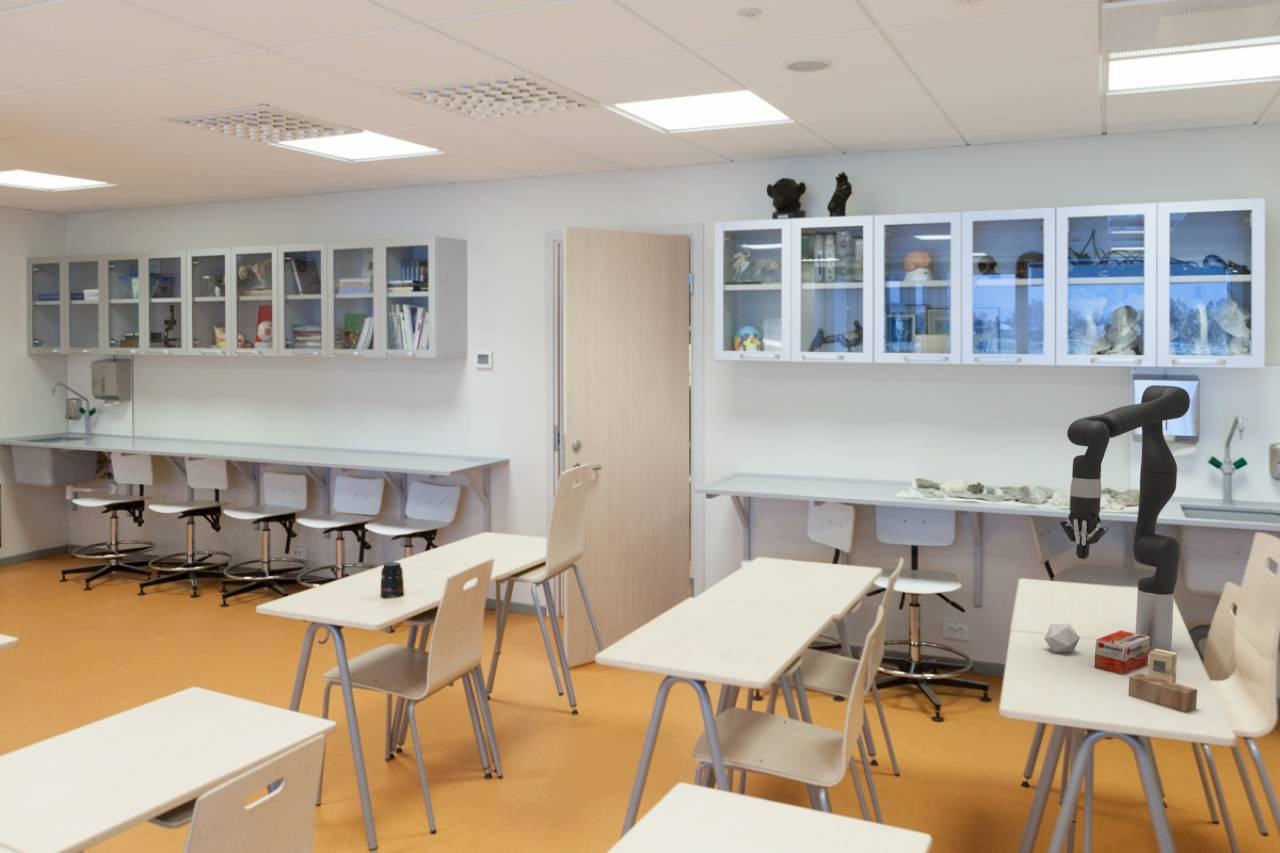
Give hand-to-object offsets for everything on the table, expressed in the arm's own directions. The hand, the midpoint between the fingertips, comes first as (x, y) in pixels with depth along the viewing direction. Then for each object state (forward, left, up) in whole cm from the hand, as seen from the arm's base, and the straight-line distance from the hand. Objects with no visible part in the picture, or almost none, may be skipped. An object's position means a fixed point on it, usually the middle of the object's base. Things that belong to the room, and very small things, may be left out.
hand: (1082, 558), depth 276 cm
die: (-7, -9, -29) cm, 31 cm away
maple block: (0, +23, -29) cm, 37 cm away
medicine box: (-8, +8, -29) cm, 32 cm away
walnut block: (+11, +22, -27) cm, 36 cm away
